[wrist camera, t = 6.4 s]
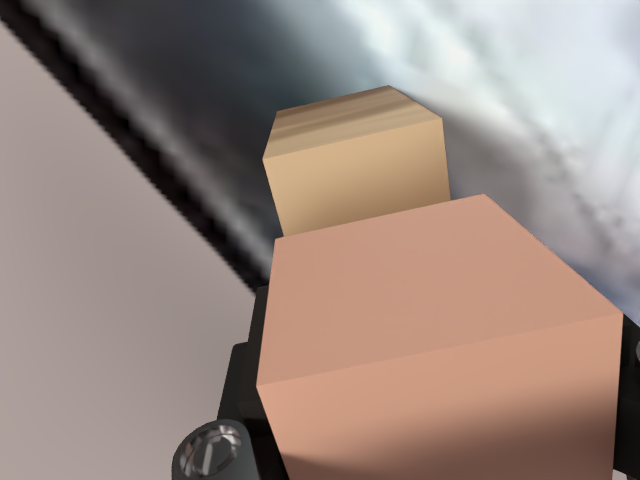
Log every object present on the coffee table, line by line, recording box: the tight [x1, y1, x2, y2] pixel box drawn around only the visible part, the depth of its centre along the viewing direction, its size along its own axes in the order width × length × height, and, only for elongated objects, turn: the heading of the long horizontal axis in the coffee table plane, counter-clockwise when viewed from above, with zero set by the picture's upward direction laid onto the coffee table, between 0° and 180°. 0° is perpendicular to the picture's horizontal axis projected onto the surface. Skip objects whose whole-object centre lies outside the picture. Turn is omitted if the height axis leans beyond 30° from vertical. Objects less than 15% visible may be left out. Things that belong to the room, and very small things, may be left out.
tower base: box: [272, 85, 408, 130], centre depth 23 cm, size 6×6×5 cm
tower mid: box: [263, 98, 451, 237], centre depth 18 cm, size 6×6×5 cm
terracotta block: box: [256, 193, 623, 480], centre depth 9 cm, size 5×5×5 cm
